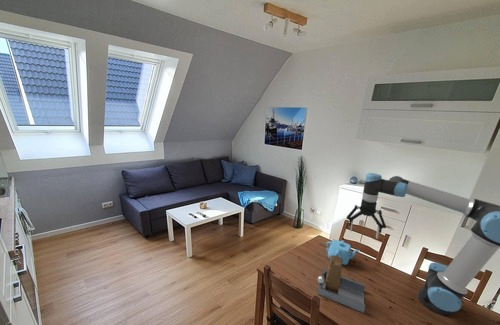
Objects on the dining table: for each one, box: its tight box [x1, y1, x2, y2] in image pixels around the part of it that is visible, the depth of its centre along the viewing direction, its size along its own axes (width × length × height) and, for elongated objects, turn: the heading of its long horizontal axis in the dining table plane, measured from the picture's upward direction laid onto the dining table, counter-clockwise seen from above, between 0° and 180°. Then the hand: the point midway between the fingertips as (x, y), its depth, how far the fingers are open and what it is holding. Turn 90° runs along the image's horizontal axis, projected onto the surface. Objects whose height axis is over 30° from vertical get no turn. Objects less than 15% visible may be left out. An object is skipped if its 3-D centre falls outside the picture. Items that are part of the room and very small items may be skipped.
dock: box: [317, 267, 366, 314], centre depth 121 cm, size 25×17×10 cm
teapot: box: [326, 239, 361, 266], centre depth 151 cm, size 18×16×14 cm
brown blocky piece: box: [325, 255, 343, 293], centre depth 122 cm, size 11×8×20 cm
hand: (363, 234), depth 124 cm, fingers open, 13 cm apart
